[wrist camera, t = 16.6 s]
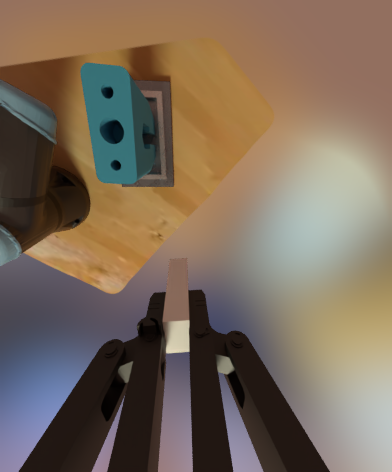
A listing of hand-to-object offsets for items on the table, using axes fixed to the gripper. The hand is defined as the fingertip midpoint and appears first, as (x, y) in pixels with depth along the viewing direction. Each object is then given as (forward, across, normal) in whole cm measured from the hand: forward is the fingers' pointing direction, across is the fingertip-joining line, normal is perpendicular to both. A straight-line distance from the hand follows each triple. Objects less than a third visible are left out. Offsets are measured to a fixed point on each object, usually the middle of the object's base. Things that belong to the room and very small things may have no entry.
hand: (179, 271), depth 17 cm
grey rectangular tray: (+33, -8, +12) cm, 35 cm away
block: (+32, -8, +12) cm, 35 cm away
